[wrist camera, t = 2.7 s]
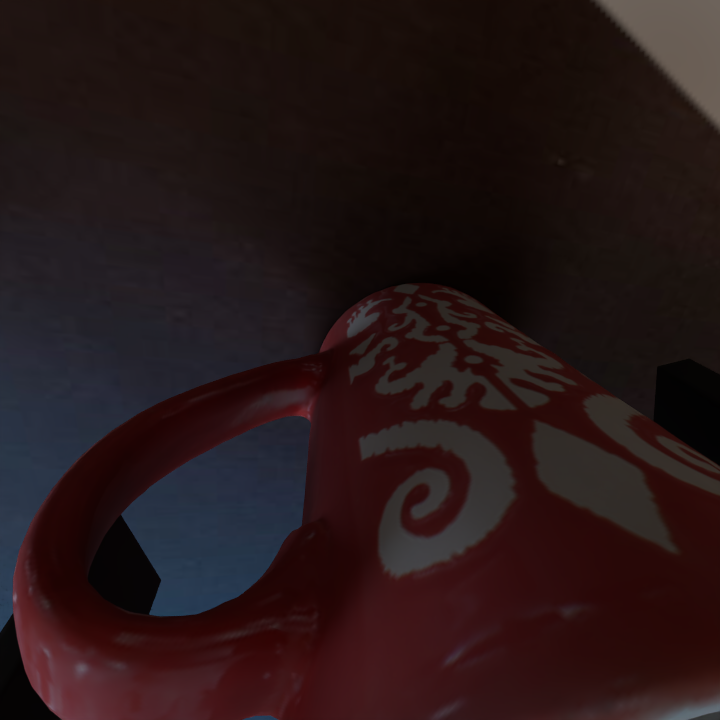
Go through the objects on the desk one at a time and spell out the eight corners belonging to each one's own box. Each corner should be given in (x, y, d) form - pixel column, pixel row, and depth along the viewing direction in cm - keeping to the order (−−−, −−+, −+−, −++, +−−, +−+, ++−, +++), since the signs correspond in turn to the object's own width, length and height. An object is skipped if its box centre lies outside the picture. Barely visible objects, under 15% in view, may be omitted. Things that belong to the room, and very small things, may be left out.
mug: (574, 301, 16) (1345, 743, 4) (466, 488, 20) (713, 1039, 7) (230, 171, 13) (-596, 346, 1) (172, 415, 17) (-210, 1110, 5)
